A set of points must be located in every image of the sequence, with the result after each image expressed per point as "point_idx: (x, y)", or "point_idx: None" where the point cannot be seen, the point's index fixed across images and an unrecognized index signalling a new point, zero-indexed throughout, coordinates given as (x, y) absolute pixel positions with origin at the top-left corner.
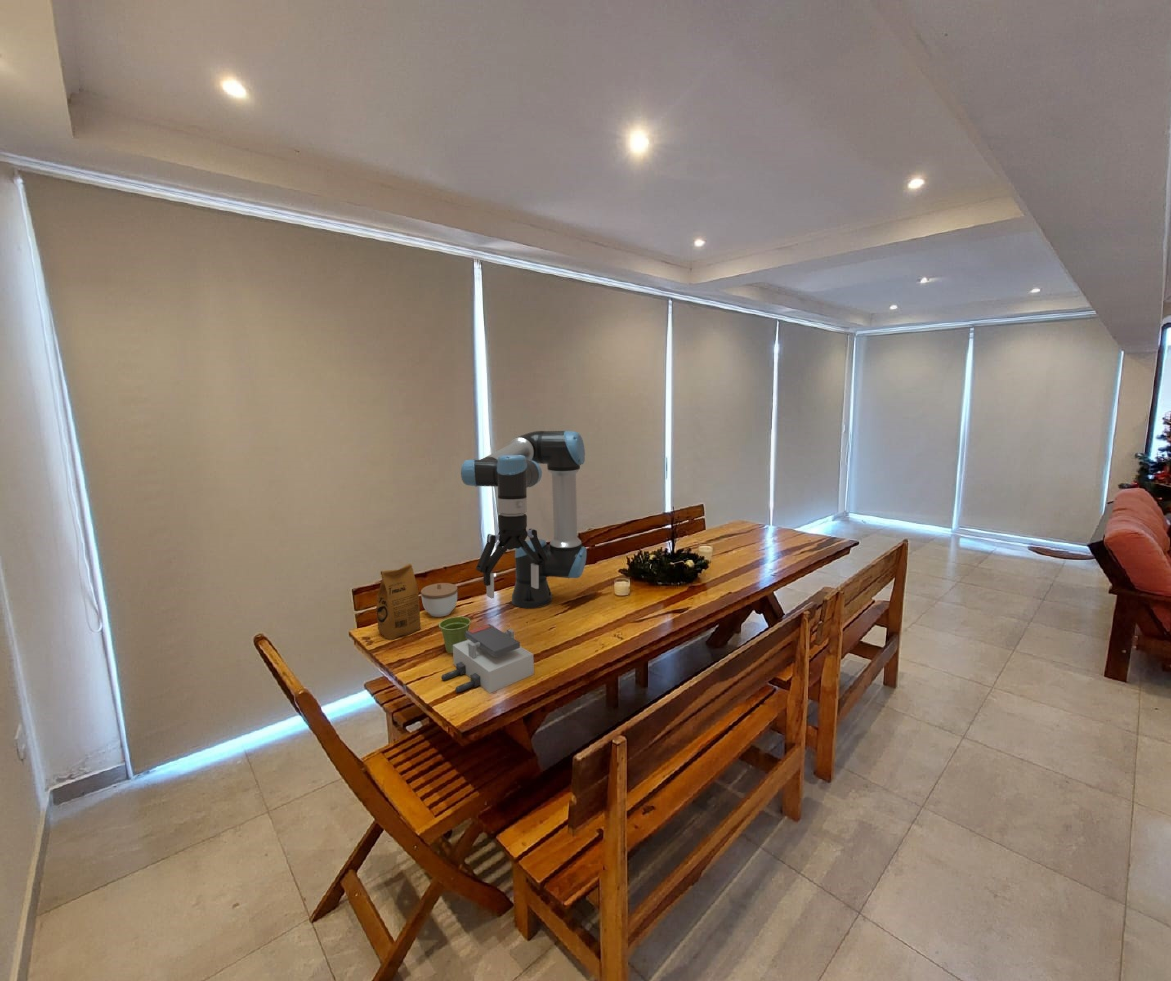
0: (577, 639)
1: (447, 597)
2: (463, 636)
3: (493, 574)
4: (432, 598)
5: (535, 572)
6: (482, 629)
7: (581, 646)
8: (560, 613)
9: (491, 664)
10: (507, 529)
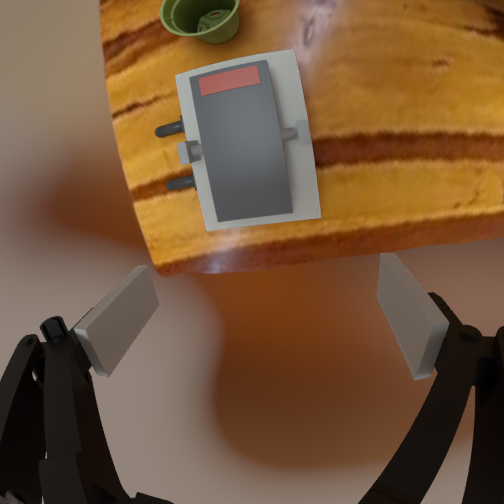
0: (458, 142)
1: None
2: (217, 33)
3: (109, 373)
4: None
5: (402, 342)
6: (233, 87)
7: (449, 171)
8: (476, 31)
9: None
10: None
